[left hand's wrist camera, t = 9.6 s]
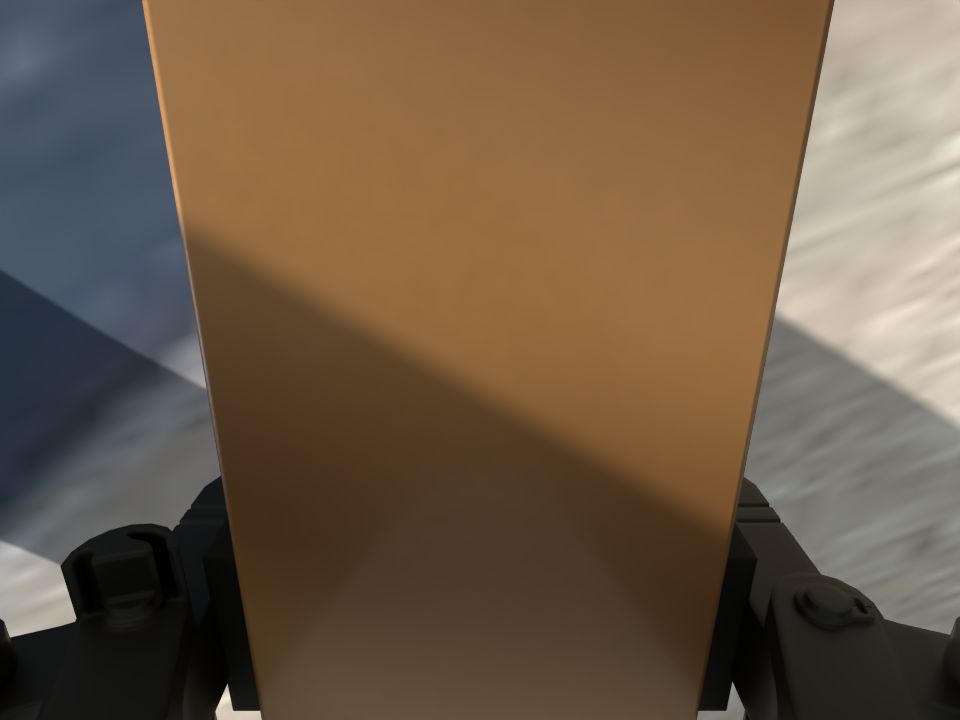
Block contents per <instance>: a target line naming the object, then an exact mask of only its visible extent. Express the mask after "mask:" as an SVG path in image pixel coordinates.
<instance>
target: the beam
mask: <svg viewBox="0 0 960 720" xmlns="http://www.w3.org/2000/svg"><path fill="white" fill-rule="evenodd" d="M142 2H143V8H144V14H145V20H146V26H147V32H148V38H149V44H150V50H151V56H152V62H153V68H154V74H155V80H156V86H157V92H158V98H159V104H160V110H161V116H162V122H163V128H164V134H165V140H166V146H167V152H168V158H169V164H170V170H171V176H172V182H173V188H174V194H175V200H176V206H177V212H178V218H179V224H180V230H181V236H182V242H183V249H184V255H185V261H186V267H187V273H188V279H189V285H190V291H191V297H192V303H193V309H194V315H195V321H196V327H197V333H198V339H199V345H200V351H201V357H202V363H203V369H204V375H205V381H206V387H207V393H208V399H209V405H210V411H211V417H212V423H213V429H214V435H215V441H216V447H217V453H218V459H219V465H220V471H221V477H222V483H223V489H224V495H225V501H226V507H227V513H228V519H229V525H230V531H231V537H232V543H233V549H234V555H235V561H236V567H237V573H238V579H239V585H240V592H241V598H242V604H243V610H244V616H245V622H246V628H247V634H248V640H249V646H250V652H251V658H252V664H253V670H254V676H255V682H256V688H257V694H258V700H259V706H260V712H261V718H262V720H697V715H698V710H699V705H700V699H701V694H702V689H703V684H704V679H705V673H706V668H707V663H708V658H709V653H710V647H711V642H712V637H713V632H714V626H715V621H716V616H717V611H718V606H719V600H720V595H721V590H722V585H723V579H724V574H725V569H726V564H727V559H728V553H729V548H730V543H731V538H732V533H733V527H734V522H735V517H736V512H737V506H738V501H739V496H740V491H741V486H742V480H743V475H744V470H745V465H746V459H747V454H748V449H749V444H750V439H751V433H752V428H753V423H754V418H755V413H756V407H757V402H758V397H759V392H760V386H761V381H762V376H763V371H764V366H765V360H766V355H767V350H768V345H769V339H770V334H771V329H772V324H773V319H774V313H775V308H776V303H777V298H778V293H779V287H780V282H781V277H782V272H783V266H784V261H785V256H786V251H787V246H788V240H789V235H790V230H791V225H792V220H793V214H794V209H795V204H796V199H797V193H798V188H799V183H800V178H801V173H802V167H803V162H804V157H805V152H806V146H807V141H808V136H809V131H810V126H811V120H812V115H813V110H814V105H815V100H816V94H817V89H818V84H819V79H820V73H821V68H822V63H823V58H824V53H825V47H826V42H827V37H828V32H829V27H830V21H831V16H832V11H833V6H834V0H142Z"/></svg>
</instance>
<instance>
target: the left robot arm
mask: <svg viewBox="0 0 960 720" xmlns="http://www.w3.org/2000/svg"><path fill="white" fill-rule="evenodd" d="M61 570H62V573H63V576H64V579H65V582H66V586H67V589H68V592H69V595H70V598H71V602H72V605H73V608H74V611H75V614H76V618H77V619H76V621H75V622H73V623H70V624H66V625H63V626H59V627H55V628H50V629H46V630H42V631H37V632H33V633H28V634H24V635H20V636H15V637H11V638H10V636H9V634H8V631H7V628H6V626H5V623H4V621H2V620H1V619H0V720H217V717H216V712H215V711H216V708H217V706H218V704H219V702H220V699H221V697H222V695H223V693H224V690H225V688H226V686H227V683H228V688H229V692H230V697H231V702H232V707H233V711H260V706H259V700H258V694H257V688H256V682H255V676H254V670H253V664H252V658H251V652H250V646H249V640H248V634H247V628H246V622H245V616H244V610H243V604H242V598H241V592H240V585H239V579H238V573H237V567H236V561H235V555H234V549H233V543H232V537H231V531H230V525H229V519H228V513H227V507H226V501H225V495H224V489H223V483H222V477H221V476H220V477H218V478H217V479H216V480H214V481H213V482H211V483H210V484H208V485H207V486H206V487H204V488H203V490H202V491H201V493H200V494H199V495H198V497H197V498H196V499H195V501H194V502H193V504H192V505H191V509H188V510H187V512H186V513H185V515H184V516H183V517H182V519H181V520H180V524H179V525H176V527H175V528H174V530H173V531H171V530H170V529H169V528H168V527H164V526H160V525H155V524H135V525H128V526H124V527H121V528H117V529H113V530H109V531H107V532H105V533H103V534H100V535H98V536H96V537H94V538H92V539H89V540H88V541H86V542H85V543H83V544H82V545H81V546H79V547H78V548H77V549H75V550H74V551H72V552H71V553H70V555H69V556H68V557H67V558H66V560H65V561H64V562H63V563H62V565H61ZM732 681H733V683H734V686H735V688H736V690H737V693H738V695H739V697H740V699H741V702H742V704H743V706H744V708H745V712H744V717H743V720H960V617H958V618H957V619H956V621H955V624H954V627H953V629H952V632H951V635H948V634H943V633H939V632H935V631H930V630H926V629H921V628H917V627H913V626H908V625H904V624H899V623H896V622H893V621H889V620H886V619H884V618H883V616H882V615H881V613H880V612H879V610H878V609H877V607H876V606H875V604H874V603H873V602H872V601H871V600H870V599H868V598H867V597H866V596H865V595H863V594H862V593H861V592H860V591H859V590H857V589H856V588H854V587H852V586H850V585H848V584H846V583H844V582H842V581H840V580H838V579H835V578H832V577H828V576H825V575H821V574H820V572H819V571H818V570H817V568H816V567H815V566H814V564H813V563H812V561H811V560H810V559H809V557H808V556H807V555H806V553H805V552H804V551H803V549H802V548H801V546H800V545H799V544H798V542H797V541H796V540H795V538H794V537H793V536H792V534H791V533H790V531H789V530H788V529H787V527H786V526H785V525H784V523H781V522H780V518H779V516H778V515H777V514H776V512H775V511H774V510H773V508H772V507H769V503H768V501H767V500H766V499H765V497H764V496H763V495H762V493H761V492H760V490H759V489H758V488H757V486H756V485H755V484H753V483H752V482H750V481H749V480H747V479H746V478H744V477H743V480H742V486H741V491H740V496H739V501H738V506H737V512H736V517H735V522H734V527H733V533H732V538H731V543H730V548H729V553H728V559H727V564H726V569H725V574H724V579H723V585H722V590H721V595H720V600H719V606H718V611H717V616H716V621H715V626H714V632H713V637H712V642H711V647H710V653H709V658H708V663H707V668H706V673H705V679H704V684H703V689H702V694H701V699H700V705H699V710H698V711H726V710H727V705H728V700H729V695H730V690H731V685H732Z"/></svg>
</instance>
